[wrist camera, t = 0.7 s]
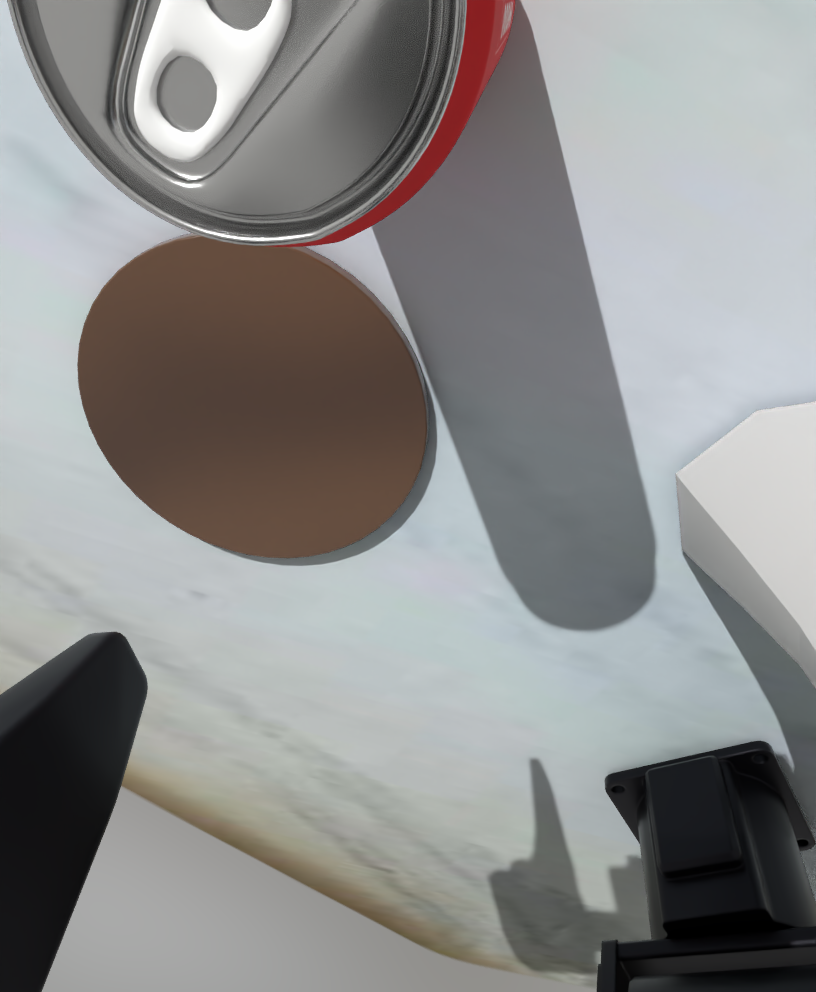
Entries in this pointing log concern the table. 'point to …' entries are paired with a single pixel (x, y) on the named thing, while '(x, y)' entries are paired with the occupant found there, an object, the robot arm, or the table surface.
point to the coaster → (253, 395)
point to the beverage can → (264, 103)
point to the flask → (760, 522)
